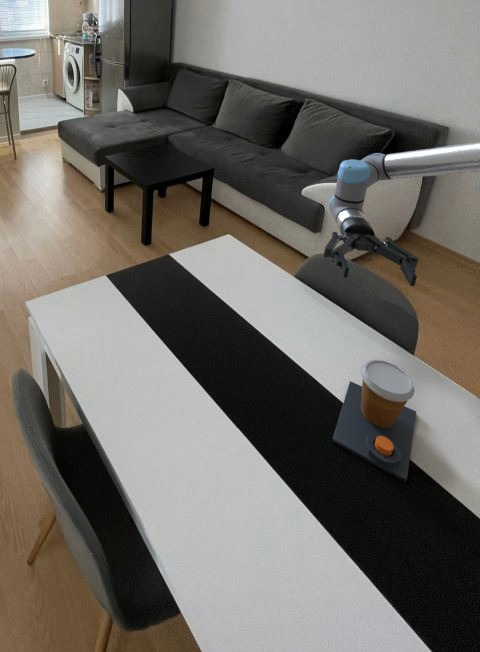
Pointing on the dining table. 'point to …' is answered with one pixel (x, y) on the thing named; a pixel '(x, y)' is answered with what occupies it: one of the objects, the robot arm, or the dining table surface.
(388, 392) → the disposable coffee cup
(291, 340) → the dining table surface
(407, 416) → the scale
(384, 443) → the button
